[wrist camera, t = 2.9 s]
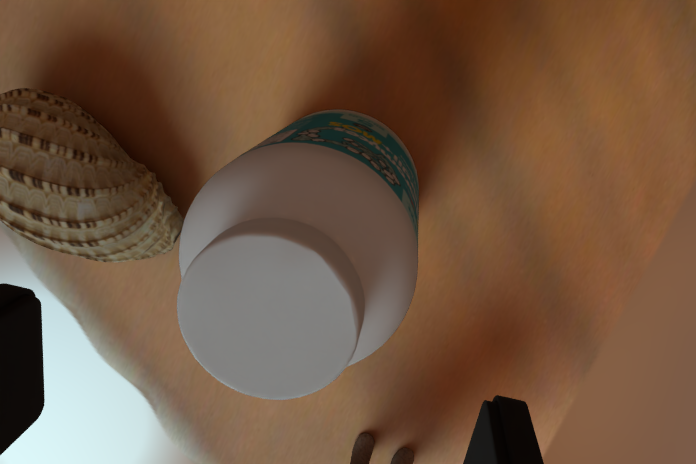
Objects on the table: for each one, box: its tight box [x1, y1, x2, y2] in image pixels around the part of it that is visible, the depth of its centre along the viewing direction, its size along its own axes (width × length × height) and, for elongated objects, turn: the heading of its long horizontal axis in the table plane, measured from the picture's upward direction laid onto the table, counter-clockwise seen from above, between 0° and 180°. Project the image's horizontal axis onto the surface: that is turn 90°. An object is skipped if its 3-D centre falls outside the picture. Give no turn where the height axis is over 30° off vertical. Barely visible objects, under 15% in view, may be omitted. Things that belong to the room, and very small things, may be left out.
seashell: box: [0, 88, 184, 262], centre depth 25 cm, size 8×6×10 cm
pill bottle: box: [177, 109, 419, 400], centre depth 19 cm, size 8×7×14 cm
